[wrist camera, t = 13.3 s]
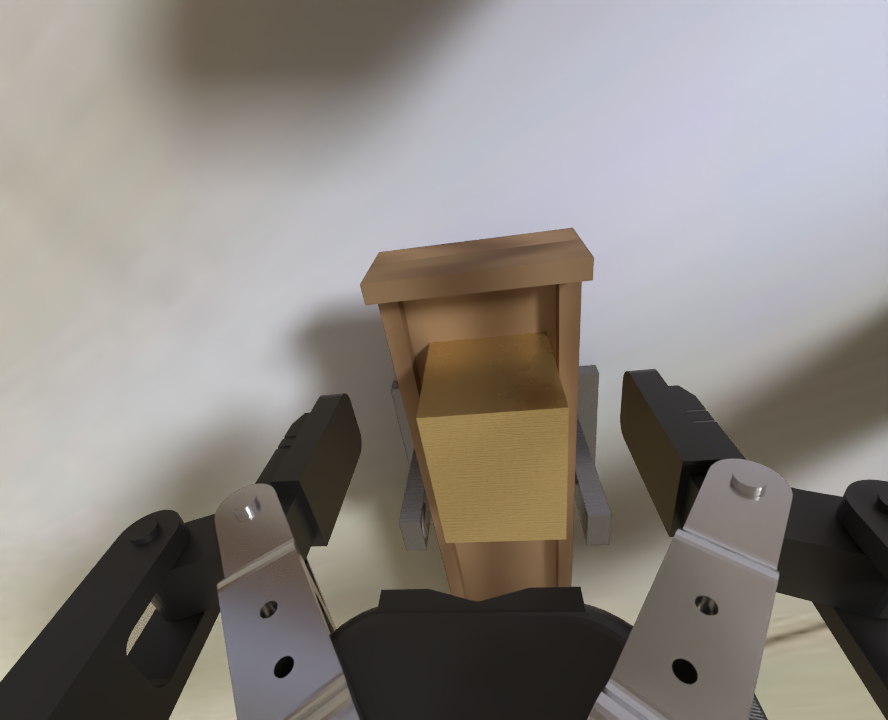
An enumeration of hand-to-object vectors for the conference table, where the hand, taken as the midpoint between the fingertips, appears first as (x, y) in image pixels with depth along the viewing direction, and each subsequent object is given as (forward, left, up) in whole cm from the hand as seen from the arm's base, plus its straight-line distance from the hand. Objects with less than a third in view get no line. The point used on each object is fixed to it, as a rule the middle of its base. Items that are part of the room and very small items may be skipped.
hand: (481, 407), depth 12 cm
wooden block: (0, +1, -4) cm, 4 cm away
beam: (0, +17, -9) cm, 19 cm away
